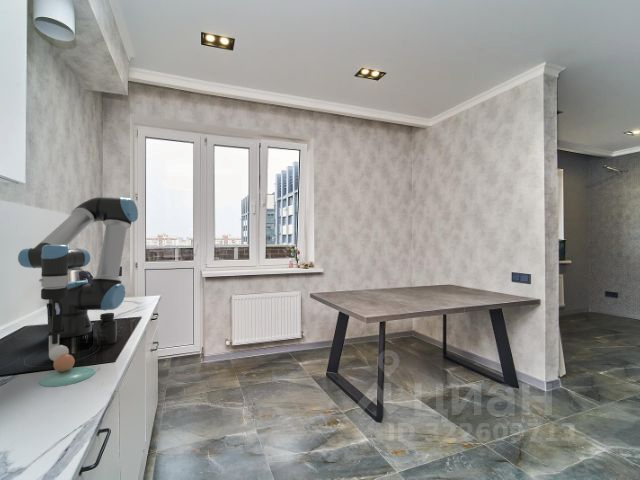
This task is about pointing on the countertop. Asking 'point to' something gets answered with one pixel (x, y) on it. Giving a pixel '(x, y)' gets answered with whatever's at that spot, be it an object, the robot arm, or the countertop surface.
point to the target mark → (66, 377)
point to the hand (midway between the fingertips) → (53, 352)
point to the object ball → (64, 363)
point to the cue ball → (58, 351)
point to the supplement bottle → (107, 329)
